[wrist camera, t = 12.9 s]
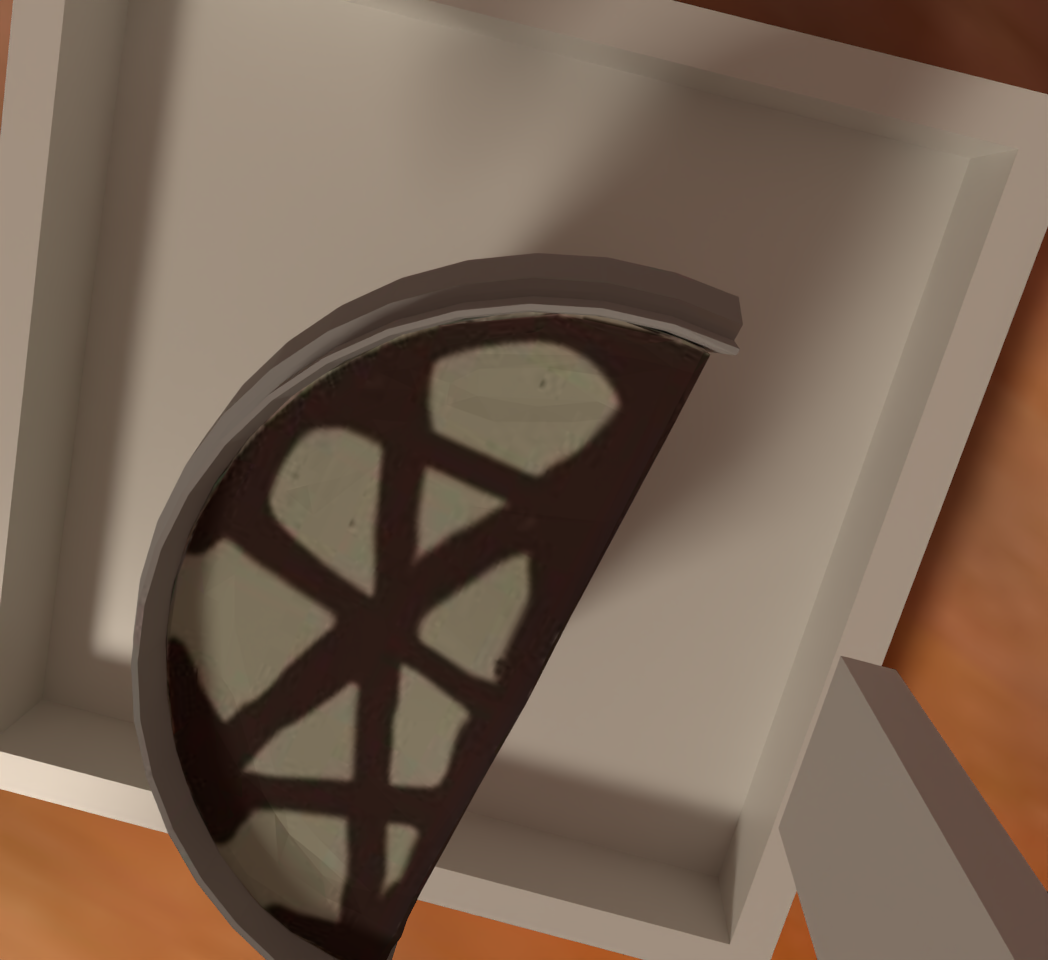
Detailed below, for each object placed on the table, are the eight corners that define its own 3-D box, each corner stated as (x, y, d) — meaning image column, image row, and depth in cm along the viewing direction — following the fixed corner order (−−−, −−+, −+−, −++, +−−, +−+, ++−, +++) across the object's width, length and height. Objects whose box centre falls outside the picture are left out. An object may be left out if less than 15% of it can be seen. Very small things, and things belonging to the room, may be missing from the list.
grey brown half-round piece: (434, 145, 21) (287, 69, 11) (688, 273, 21) (763, 308, 11) (231, 618, 24) (-22, 881, 14) (454, 725, 24) (355, 1053, 14)
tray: (1022, 123, 20) (1092, 105, 17) (741, 903, 25) (758, 989, 23) (109, -107, 21) (28, -162, 18) (14, 712, 26) (-60, 773, 23)
